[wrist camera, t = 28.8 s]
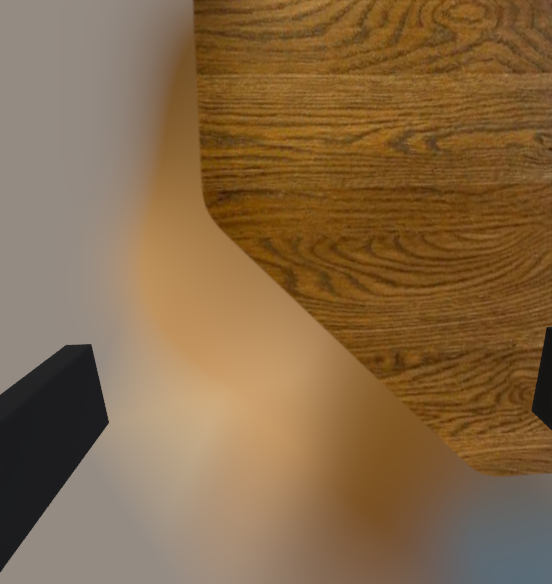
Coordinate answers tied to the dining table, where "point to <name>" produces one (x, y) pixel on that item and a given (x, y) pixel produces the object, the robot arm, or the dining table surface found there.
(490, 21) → the dining table surface
